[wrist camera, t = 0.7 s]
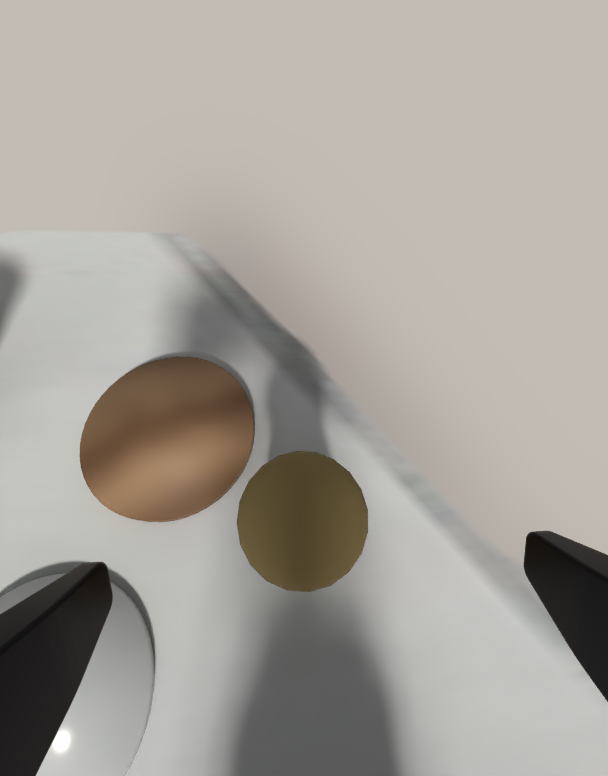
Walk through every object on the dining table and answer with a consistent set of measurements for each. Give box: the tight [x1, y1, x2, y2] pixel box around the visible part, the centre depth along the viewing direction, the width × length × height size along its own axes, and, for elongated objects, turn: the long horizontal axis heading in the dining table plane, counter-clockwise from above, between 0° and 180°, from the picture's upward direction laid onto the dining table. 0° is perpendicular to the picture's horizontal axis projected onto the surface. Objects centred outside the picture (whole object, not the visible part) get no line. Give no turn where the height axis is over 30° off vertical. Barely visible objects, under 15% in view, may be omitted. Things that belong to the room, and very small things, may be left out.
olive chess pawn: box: [237, 451, 368, 592], centre depth 17 cm, size 6×6×11 cm
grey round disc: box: [0, 573, 155, 776], centre depth 18 cm, size 12×12×1 cm
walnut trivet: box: [80, 357, 255, 522], centre depth 24 cm, size 12×12×1 cm
